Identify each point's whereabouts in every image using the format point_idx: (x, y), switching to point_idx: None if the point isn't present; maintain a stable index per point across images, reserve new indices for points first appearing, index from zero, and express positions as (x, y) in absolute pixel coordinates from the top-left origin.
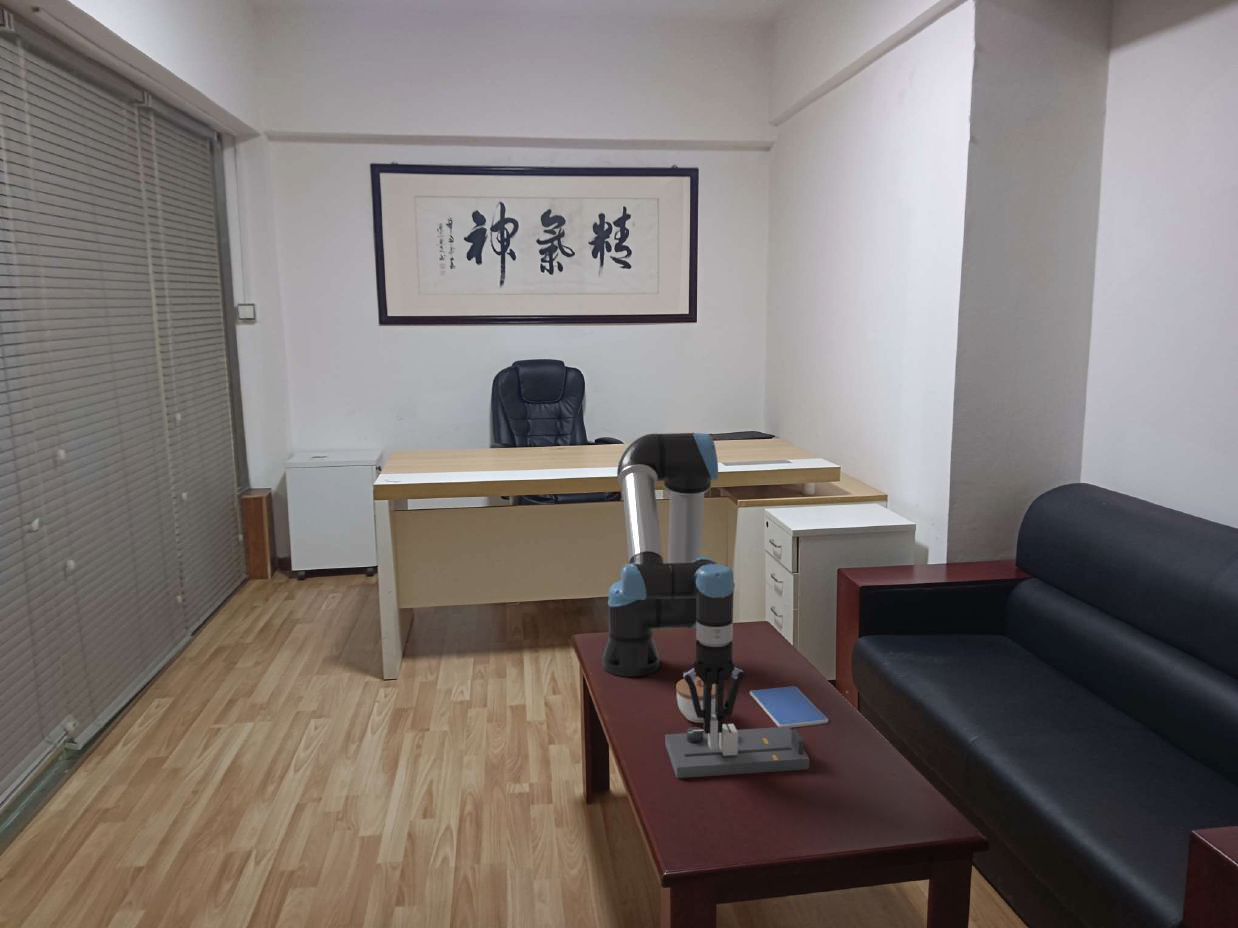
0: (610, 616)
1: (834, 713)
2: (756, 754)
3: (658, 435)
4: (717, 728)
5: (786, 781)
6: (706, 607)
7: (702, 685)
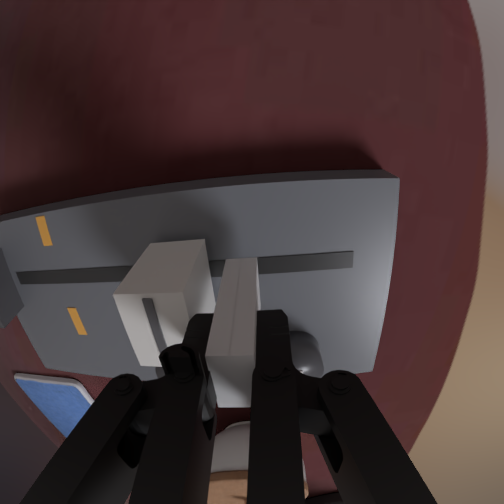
0: None
1: (17, 391)
2: (93, 253)
3: None
4: (214, 319)
5: (39, 148)
6: None
7: (241, 498)
